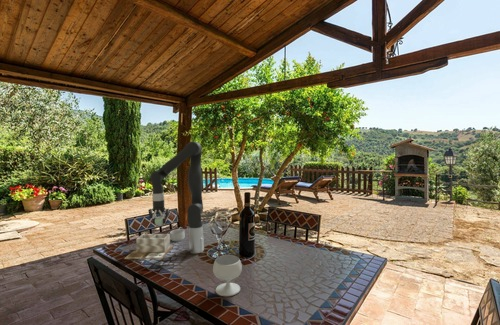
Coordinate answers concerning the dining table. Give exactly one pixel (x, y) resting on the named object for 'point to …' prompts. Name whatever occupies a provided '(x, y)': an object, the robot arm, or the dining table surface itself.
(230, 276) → the chalice
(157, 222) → the sage ball
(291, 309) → the dining table surface
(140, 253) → the sorting board
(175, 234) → the teacup
